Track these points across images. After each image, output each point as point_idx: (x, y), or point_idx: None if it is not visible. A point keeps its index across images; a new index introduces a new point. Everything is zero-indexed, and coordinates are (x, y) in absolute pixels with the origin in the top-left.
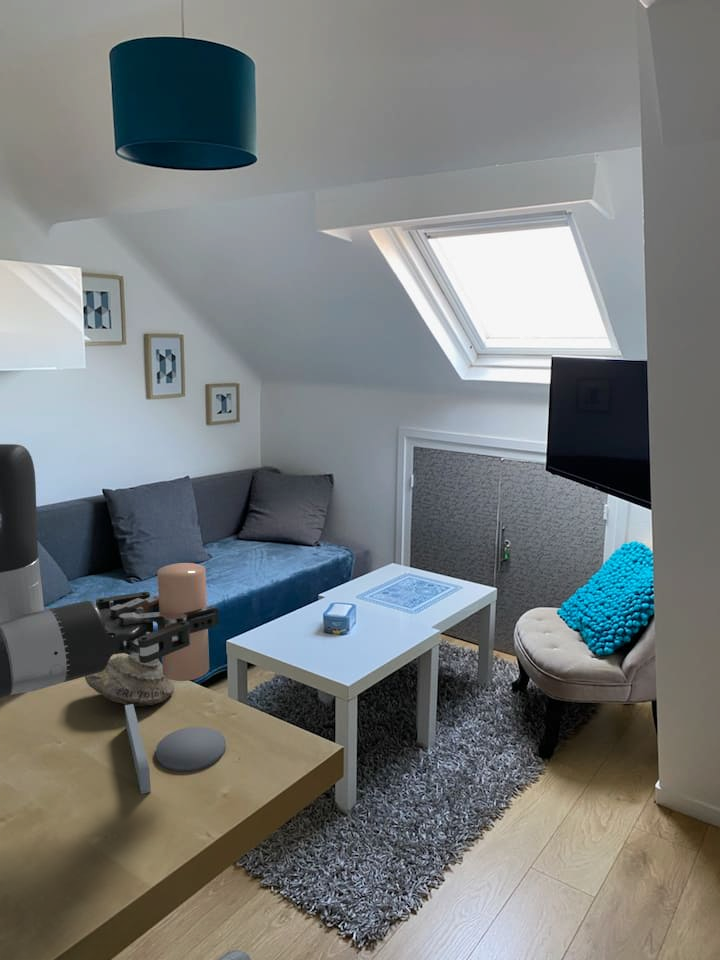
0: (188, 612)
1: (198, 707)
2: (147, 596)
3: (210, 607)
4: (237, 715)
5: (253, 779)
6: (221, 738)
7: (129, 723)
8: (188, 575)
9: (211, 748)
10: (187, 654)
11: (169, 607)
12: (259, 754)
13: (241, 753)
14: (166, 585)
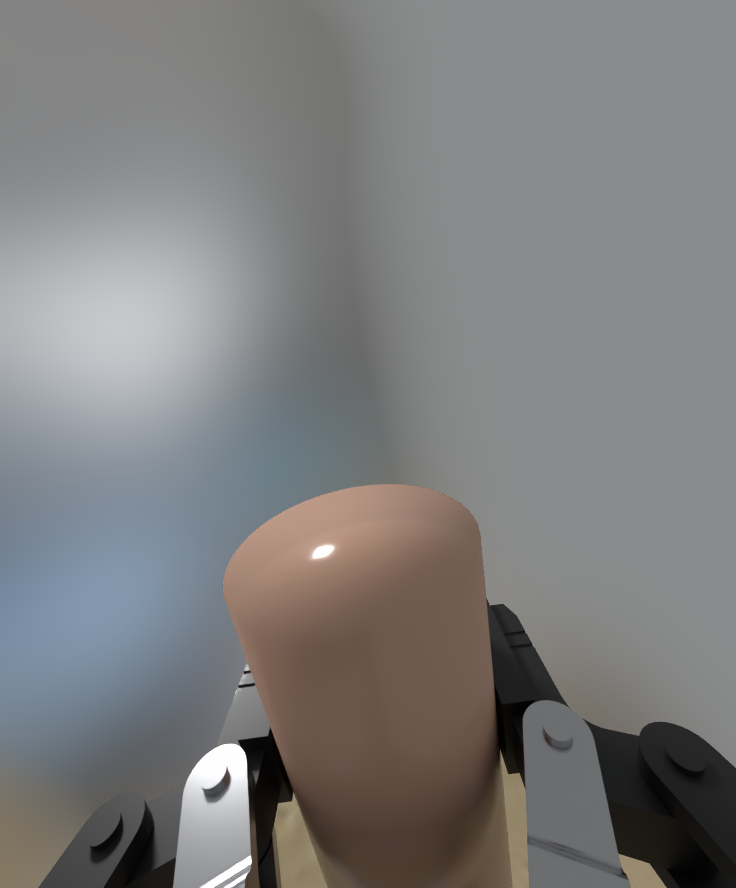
0: (498, 684)
1: (282, 862)
2: (145, 827)
3: None
4: None
5: (630, 878)
6: None
7: None
8: (435, 524)
9: None
10: (507, 838)
11: (456, 757)
12: (525, 807)
13: (511, 850)
14: (429, 656)
